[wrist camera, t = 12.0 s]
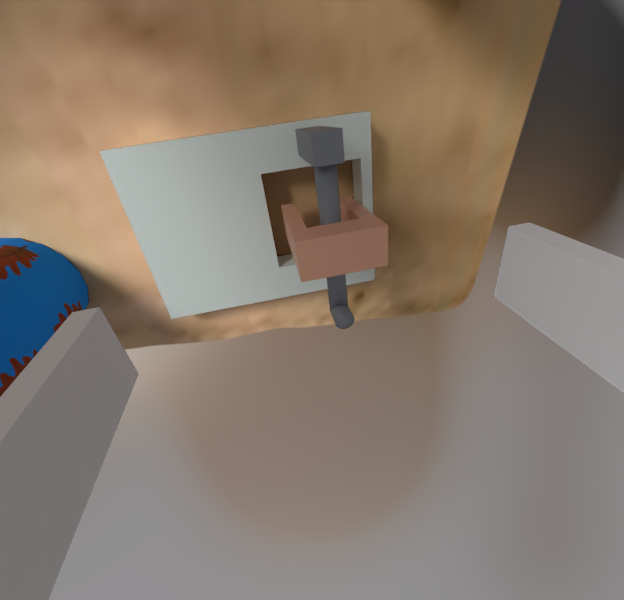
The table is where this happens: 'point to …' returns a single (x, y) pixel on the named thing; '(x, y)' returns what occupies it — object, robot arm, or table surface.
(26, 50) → the table surface
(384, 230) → the pink notched block
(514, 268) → the robot arm
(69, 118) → the table surface
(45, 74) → the table surface
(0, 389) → the thermos
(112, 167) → the slider lever panel
